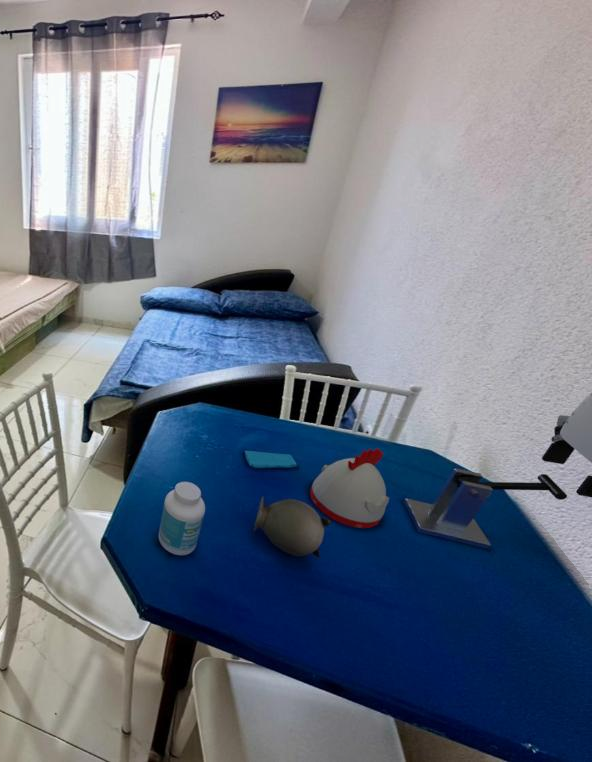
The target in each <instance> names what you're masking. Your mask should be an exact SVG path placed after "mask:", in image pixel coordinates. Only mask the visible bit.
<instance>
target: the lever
mask: <svg viewBox="0 0 592 762" xmlns="http://www.w3.org/2000/svg"><path fill="white" fill-rule="evenodd" d="M537 480H538V481H539V482H523V481H521V482H519V481H517V482H513V481H511V482H510V481H509V482H507V481H506V482H505V481H480V482H479V481H478V480H477V478H476V477H458V482H457V487H458V489H459V487H460V485H461V484H462V482H463V481H466V482H471V483H476V484H480V485H485V486H490V487H491V488H492V489H493V491H494V490H496V491H497V490H498V491H548V492H549V493H550V494H551V495H552V496H553V497H554V498H555V499H556V500H559V501H563V500H566V499H568V494H567V493H566V492H565V491H564V490H563V489H562V488H561V487H560V486H559V485H558V484H557V483H556V482H555V481H554V480H553V479H552V478H551V477H550V476H549V474H545V473H541V474H539V475H538V476H537Z"/></svg>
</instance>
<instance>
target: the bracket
mask: <svg viewBox="0 0 592 762" xmlns="http://www.w3.org/2000/svg"><path fill="white" fill-rule="evenodd" d="M458 477H476V478H477V480H478V481H479V482H481V480H482V478H483V474H482V473H480V472H475V471H470V470H465V469H461V468H453V469H452V472H451V473H450V475H449V477H448V478H447V480H446V481H445V483H444V484H443V486H442V487H441V488H440V491H439V493H438V494H437V496H436V498H435V499H434V501H433V502H432V503H428V502H423V501H419V500H416V499H411V498H405V499H404V501H403V503H404V506H405V508H406V509H407V512H408V514H409V516H410V518H411V520H412V522H413V525H414V527H415V529H416V530H417V532H418V533H420V534H425V535H428V536H433V537H438V538H441V539H446V540H449V541H453V542H458V543H462V544H465V545H470V546H474V547H477V548H482V549H486V550H489V549H490V548H491V546H492V545H491V543H490V541H489V539H488V538H487V537H486V535H485V534H484V532H483V530H482V529H481V528H480V526H479V524H478V523H477V521H476V520H475V517H476V515H477V514H478V513H479V512H480V510H481V508H482V507H483V505H484V504H485V502H486V501H487V500H488V498H489V497H490V495H491V494H492V492H493V491H494V490H493V489H492V488H491V487H490V486H485V485H480V484H476V483H471V482H466V481H463V482H462V484H461V485H460V487H459V489H458V487H457V482H458Z"/></svg>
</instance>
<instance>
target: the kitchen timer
mask: <svg viewBox="0 0 592 762" xmlns="http://www.w3.org/2000/svg"><path fill="white" fill-rule="evenodd" d="M384 455H385V453H383V452H382V451H381V449H379V447H376V448H375V449H374V450H373V449H371V448H369V449H368V451H367V450H366V449H363V451H362V452H361V454H360V456H359V455H358V454H356V455H355V457H349V458H344V459H339V460H336V461H335V462H333V463H331V464H328V465H327V464H324V466H323V467H322V468H321V472H320V473H319V474H318V476H317V477H315V479H314V481H313V482H312V484H311V487H310V489H309V490H310V491H309V496H310V498H311V499H310V500H311V501H312V503H313V504H314V506H315V507H317V508H318V510H320V511H321V512H322V513H323V514H324V515H326V516H327V517H329V519H332V520H334V521H336V522H338V523H340V524H342V525H346V526H349V527H351V528H359V529H368V528H373V527H376V526H377V525H379V524H380V522H381V520H382V518H383V517H384V514H385V512H386V508H387V506H388V504H389V501H390V497H389V496H387V488H386V484H385V481H384V479H383V476H382V475H381V473H380V470H378V468H377V467H376V466H375V465H376V464H377V463H378V462H379V461H380V460H382V458H383V456H384Z"/></svg>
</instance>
